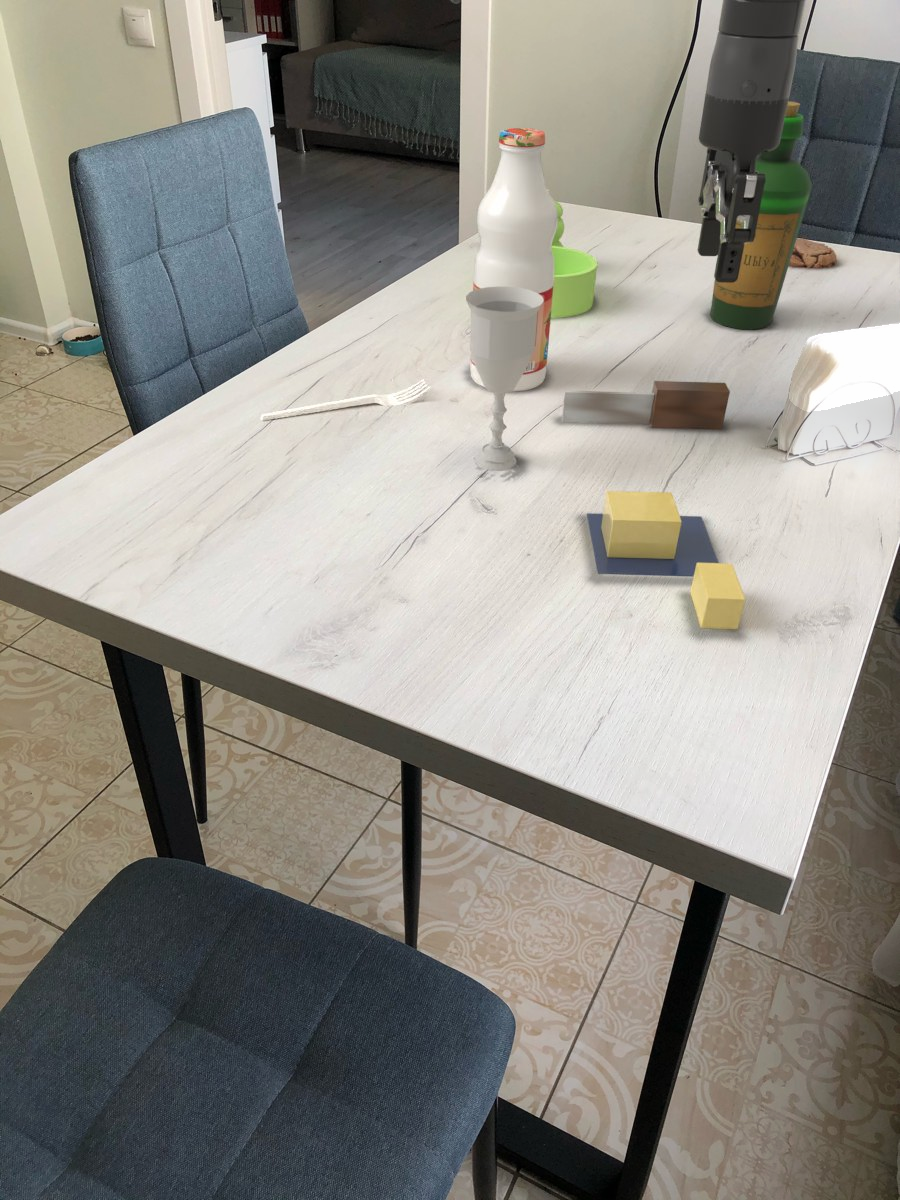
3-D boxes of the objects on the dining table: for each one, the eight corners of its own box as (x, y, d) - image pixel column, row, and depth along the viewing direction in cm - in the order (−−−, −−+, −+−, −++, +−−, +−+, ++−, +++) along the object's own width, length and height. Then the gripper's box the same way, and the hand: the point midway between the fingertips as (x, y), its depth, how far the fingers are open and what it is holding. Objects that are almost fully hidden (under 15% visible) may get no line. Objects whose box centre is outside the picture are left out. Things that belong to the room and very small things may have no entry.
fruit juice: (455, 373, 118) (460, 128, 101) (514, 358, 122) (529, 120, 105) (500, 401, 112) (514, 144, 95) (560, 383, 116) (585, 135, 99)
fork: (258, 416, 107) (256, 401, 106) (422, 392, 113) (422, 377, 112) (264, 428, 104) (262, 413, 103) (432, 403, 111) (432, 388, 110)
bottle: (687, 319, 134) (726, 101, 118) (729, 303, 140) (772, 93, 123) (751, 341, 128) (802, 114, 111) (793, 323, 134) (847, 105, 117)
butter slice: (723, 601, 81) (732, 563, 78) (735, 638, 77) (745, 599, 74) (688, 600, 81) (696, 562, 78) (698, 637, 77) (708, 597, 74)
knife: (716, 423, 108) (725, 382, 105) (721, 432, 106) (730, 391, 103) (560, 419, 108) (564, 378, 105) (562, 428, 106) (566, 387, 103)
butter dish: (699, 525, 90) (709, 479, 87) (721, 586, 82) (733, 538, 79) (585, 521, 90) (591, 476, 87) (596, 582, 82) (603, 535, 79)
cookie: (835, 274, 152) (840, 255, 151) (768, 266, 155) (772, 248, 153) (833, 256, 160) (838, 238, 158) (769, 249, 162) (773, 231, 161)
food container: (598, 320, 133) (609, 229, 126) (496, 319, 133) (501, 227, 125) (578, 265, 153) (586, 183, 146) (489, 263, 153) (492, 181, 145)
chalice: (521, 451, 102) (533, 285, 91) (537, 482, 96) (552, 309, 85) (455, 455, 101) (459, 287, 90) (467, 487, 95) (473, 313, 84)
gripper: (810, 104, 81) (770, 292, 91) (769, 78, 92) (737, 247, 102) (723, 103, 81) (692, 290, 91) (692, 77, 92) (667, 246, 102)
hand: (716, 267), depth 96 cm, fingers open, 8 cm apart
